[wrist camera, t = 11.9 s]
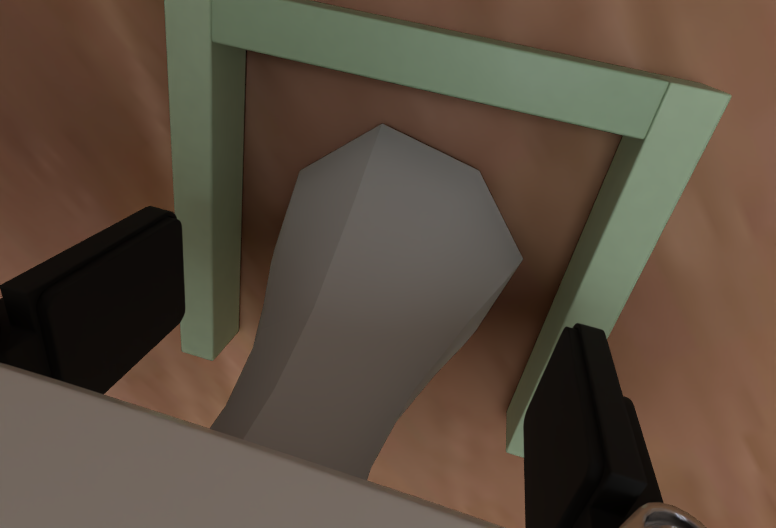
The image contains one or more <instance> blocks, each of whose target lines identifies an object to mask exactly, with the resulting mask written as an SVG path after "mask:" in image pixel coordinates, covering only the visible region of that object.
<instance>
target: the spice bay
mask: <svg viewBox="0 0 776 528" xmlns="http://www.w3.org/2000/svg"><path fill="white" fill-rule="evenodd" d="M164 8H165V28H166V48H167V68H168V88H169V109H170V129H171V149H172V169H173V189H174V209H175V215H176V217H177V219H178V220H179V221H180V222H181V224H182V238H183V261H184V285H185V314H184V317H183V319H182V321H181V322H180V330H181V350H182V352H185V353H188V354H191V355H195V356H198V357H201V358H204V359H207V360H211V361H213V360H214V359H215V358H216V357H217V356H218V355H219V353H220V352H221V351H222V350H223V349H224V348H225V346H226V345H227V344H228V343H229V342H230V341H231V339H232V338H233V337H234V336H235V335H236V334H237V332H238V331H239V295H240V257H241V219H242V180H243V142H244V104H245V66H246V50H250V51H254V52H258V53H263V54H267V55H272V56H276V57H280V58H285V59H289V60H294V61H298V62H302V63H307V64H311V65H316V66H320V67H324V68H329V69H333V70H338V71H342V72H346V73H351V74H355V75H359V76H364V77H368V78H373V79H377V80H381V81H386V82H390V83H395V84H399V85H403V86H408V87H412V88H417V89H421V90H425V91H430V92H434V93H439V94H443V95H447V96H452V97H456V98H461V99H465V100H469V101H474V102H478V103H483V104H487V105H491V106H496V107H500V108H504V109H509V110H513V111H518V112H522V113H526V114H531V115H535V116H540V117H544V118H548V119H553V120H557V121H562V122H566V123H570V124H575V125H579V126H584V127H588V128H592V129H597V130H601V131H606V132H610V133H614V134H619V135H623V137H622V139H621V141H620V144H619V146H618V149H617V151H616V153H615V156H614V158H613V160H612V163H611V165H610V168H609V170H608V172H607V175H606V177H605V179H604V182H603V184H602V187H601V189H600V191H599V194H598V196H597V198H596V201H595V203H594V206H593V208H592V210H591V213H590V215H589V217H588V220H587V222H586V225H585V227H584V229H583V232H582V234H581V236H580V239H579V241H578V244H577V246H576V248H575V251H574V253H573V255H572V258H571V260H570V263H569V265H568V267H567V270H566V272H565V274H564V277H563V279H562V282H561V284H560V286H559V289H558V291H557V293H556V296H555V298H554V301H553V303H552V305H551V308H550V310H549V312H548V315H547V317H546V320H545V322H544V324H543V327H542V329H541V331H540V334H539V336H538V339H537V341H536V343H535V346H534V348H533V350H532V353H531V355H530V358H529V360H528V362H527V365H526V367H525V369H524V372H523V374H522V377H521V379H520V381H519V384H518V386H517V388H516V391H515V393H514V396H513V398H512V400H511V403H510V405H509V407H508V410H507V421H506V452H507V453H510V454H513V455H517V456H520V457H523V458H524V436H523V424H524V418H525V414H526V411H527V409H528V406H529V404H530V402H531V400H532V397H533V395H534V393H535V391H536V389H537V386H538V384H539V382H540V380H541V377H542V375H543V373H544V371H545V369H546V366H547V364H548V362H549V360H550V357H551V355H552V353H553V351H554V349H555V346H556V344H557V342H558V340H559V337H560V335H561V333H562V331H563V329H564V328H565V327H566V326H567V327H570V328H573V326H574V325H575V324H576V323H580V324H584V325H587V326H591V327H595V328H598V329H602V330H604V332H605V335H606V338H608V336H609V334H610V333H611V331H612V329H613V327H614V325H615V323H616V321H617V319H618V317H619V315H620V313H621V311H622V309H623V307H624V305H625V303H626V301H627V299H628V297H629V296H630V294H631V292H632V290H633V288H634V286H635V284H636V282H637V280H638V278H639V276H640V274H641V272H642V270H643V268H644V266H645V264H646V262H647V261H648V259H649V257H650V255H651V253H652V251H653V249H654V247H655V245H656V243H657V241H658V239H659V237H660V235H661V233H662V231H663V229H664V227H665V225H666V224H667V222H668V220H669V218H670V216H671V214H672V212H673V210H674V208H675V206H676V204H677V202H678V200H679V198H680V196H681V194H682V192H683V190H684V188H685V187H686V185H687V183H688V181H689V179H690V177H691V175H692V173H693V171H694V169H695V167H696V165H697V163H698V161H699V159H700V157H701V155H702V153H703V151H704V150H705V148H706V146H707V144H708V142H709V140H710V138H711V136H712V134H713V132H714V130H715V128H716V126H717V124H718V122H719V120H720V118H721V116H722V114H723V113H724V111H725V109H726V107H727V105H728V103H729V101H730V99H731V95H730V94H728V93H725V92H723V91H720V90H718V89H715V88H712V87H710V86H707V85H705V84H702V83H698V82H693V81H689V80H684V79H679V78H674V77H670V76H665V75H660V74H656V73H649V72H646V71H641V70H637V69H632V68H627V67H622V66H618V65H613V64H608V63H603V62H599V61H594V60H589V59H585V58H580V57H575V56H570V55H566V54H561V53H556V52H551V51H547V50H542V49H537V48H533V47H528V46H523V45H518V44H514V43H509V42H504V41H499V40H495V39H490V38H485V37H481V36H476V35H471V34H466V33H462V32H457V31H452V30H447V29H443V28H438V27H433V26H429V25H424V24H419V23H414V22H410V21H405V20H400V19H395V18H391V17H386V16H381V15H377V14H372V13H367V12H362V11H358V10H353V9H348V8H343V7H339V6H334V5H329V4H325V3H320V2H315V1H310V0H164Z"/></svg>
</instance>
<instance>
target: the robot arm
mask: <svg viewBox="0 0 776 528" xmlns="http://www.w3.org/2000/svg"><path fill="white" fill-rule="evenodd" d="M0 289H1V293H2V296H3V298H1V299H0V528H504V527H502V526H499V525H496V524H493V523H490V522H487V521H485V520H482V519H479V518H476V517H473V516H470V515H467V514H465V513H462V512H459V511H456V510H453V509H450V508H447V507H444V506H442V505H439V504H436V503H433V502H430V501H427V500H424V499H421V498H418V497H415V496H412V495H409V494H406V493H403V492H400V491H397V490H394V489H391V488H388V487H385V486H382V485H379V484H376V483H373V482H370V481H367V480H364V479H361V478H358V477H355V476H352V475H349V474H346V473H343V472H340V471H337V470H334V469H331V468H328V467H325V466H322V465H319V464H316V463H313V462H310V461H307V460H304V459H301V458H298V457H295V456H292V455H289V454H286V453H283V452H280V451H277V450H273V449H270V448H267V447H264V446H261V445H258V444H255V443H252V442H249V441H246V440H243V439H240V438H237V437H234V436H231V435H228V434H225V433H221V432H218V431H215V430H212V429H209V428H206V427H203V426H200V425H197V424H194V423H191V422H188V421H185V420H181V419H178V418H175V417H172V416H169V415H166V414H163V413H160V412H157V411H154V410H150V409H147V408H144V407H141V406H138V405H135V404H132V403H129V402H125V401H122V400H119V399H116V398H113V397H110V396H107V395H104V394H105V393H106V392H107V391H108V390H109V389H110V388H111V387H112V386H113V385H114V384H115V383H116V382H117V381H118V380H119V379H121V378H122V377H123V376H124V375H125V374H126V373H127V372H128V371H129V370H130V369H131V368H132V367H133V366H134V365H135V364H137V363H138V362H139V361H140V360H141V359H142V358H143V357H144V356H145V355H146V354H147V353H148V352H149V351H150V350H151V349H153V348H154V347H155V346H156V345H157V344H158V343H159V342H160V341H161V340H162V339H163V338H164V337H165V336H166V335H168V334H169V333H170V332H171V331H172V330H173V329H174V328H175V327H176V326H177V325H178V324H179V323H180V322H181V321H182V319H183V317H184V314H185V285H184V261H183V238H182V224H181V222H180V221H179V220H178V219H177V217H176V215H175V214H174V213H173V212H171V211H167V210H163V209H160V208H156V207H152V206H148V207H145V208H144V209H142V210H140V211H138V212H136V213H134V214H132V215H130V216H129V217H127V218H125V219H123V220H121V221H119V222H117V223H116V224H114V225H112V226H110V227H108V228H106V229H104V230H102V231H101V232H99V233H97V234H95V235H93V236H91V237H89V238H88V239H86V240H84V241H82V242H80V243H78V244H76V245H74V246H73V247H71V248H69V249H67V250H65V251H63V252H61V253H60V254H58V255H56V256H54V257H52V258H50V259H48V260H46V261H45V262H43V263H41V264H39V265H37V266H35V267H33V268H32V269H30V270H28V271H26V272H24V273H22V274H20V275H18V276H17V277H15V278H13V279H11V280H9V281H7V282H5V283H4V284H2V285H0ZM523 436H524V479H525V521H526V528H706V527H705V526H704V525H703V524H702V523H701V522H700V521H698V520H697V519H696V518H694V517H693V516H691V515H690V514H689V513H687V512H685V511H683V510H681V509H679V508H677V507H675V506H673V505H669V504H665V503H663V500H662V496H661V493H660V490H659V487H658V483H657V480H656V477H655V473H654V470H653V467H652V464H651V460H650V457H649V454H648V450H647V447H646V444H645V441H644V437H643V434H642V431H641V427H640V424H639V421H638V418H637V414H636V411H635V408H634V405H633V403H632V401H631V400H630V399H629V398H627V397H624V396H623V395H622V391H621V388H620V384H619V380H618V377H617V373H616V370H615V366H614V363H613V359H612V356H611V352H610V349H609V345H608V342H607V338H606V335H605V332H604V330H602V329H598V328H595V327H591V326H587V325H584V324H580V323H576V324H575V325H574V326H573V328H570V327H567V326H566V327H565V328H564V329H563V331H562V333H561V335H560V337H559V340H558V342H557V344H556V346H555V349H554V351H553V353H552V355H551V357H550V360H549V362H548V364H547V366H546V369H545V371H544V373H543V375H542V377H541V380H540V382H539V384H538V386H537V389H536V391H535V393H534V395H533V397H532V400H531V402H530V404H529V406H528V409H527V411H526V414H525V418H524V424H523Z"/></svg>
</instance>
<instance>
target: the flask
mask: <svg viewBox="0 0 776 528" xmlns="http://www.w3.org/2000/svg"><path fill="white" fill-rule="evenodd" d="M522 260H523V258H522V256H521V254H520V252H519V250H518V248H517V246H516V244H515V242H514V240H513V238H512V236H511V234H510V232H509V230H508V228H507V226H506V224H505V222H504V220H503V218H502V216H501V214H500V212H499V210H498V208H497V206H496V204H495V202H494V200H493V198H492V196H491V194H490V192H489V190H488V188H487V186H486V184H485V182H484V180H483V178H482V176H481V173H480V171H479V170H477V169H475V168H473V167H470V166H468V165H466V164H464V163H462V162H460V161H458V160H456V159H454V158H452V157H450V156H448V155H446V154H444V153H442V152H440V151H438V150H436V149H433V148H431V147H429V146H427V145H425V144H423V143H421V142H419V141H417V140H415V139H413V138H411V137H409V136H407V135H405V134H403V133H401V132H399V131H396V130H394V129H392V128H390V127H388V126H386V125H384V124H381V125H379V126H377V127H375V128H374V129H372V130H370V131H368V132H367V133H365V134H363V135H361V136H360V137H358V138H356V139H354V140H353V141H351V142H349V143H347V144H346V145H344V146H342V147H340V148H339V149H337V150H335V151H333V152H332V153H330V154H328V155H326V156H325V157H323V158H321V159H319V160H318V161H316V162H314V163H312V164H311V165H309V166H307V167H305V168H304V169H302V170H300V172H299V175H298V178H297V181H296V184H295V187H294V190H293V193H292V197H291V200H290V203H289V206H288V209H287V212H286V215H285V218H284V221H283V224H282V227H281V230H280V234H279V237H278V240H277V243H276V246H275V249H274V253H273V257H272V261H271V266H270V272H269V277H268V283H267V288H266V294H265V300H264V305H263V309H262V313H261V317H260V321H259V325H258V329H257V333H256V337H255V341H254V345H253V349H252V351H251V353H250V355H249V357H248V359H247V362H246V364H245V366H244V368H243V370H242V372H241V374H240V377H239V379H238V381H237V383H236V385H235V387H234V389H233V391H232V394H231V396H230V398H229V400H228V402H227V404H226V406H225V407H224V409H223V410H222V412H221V413H220V415H219V416H218V417H217V419H216V420H215V422H214V423H213V424H212V426H211V427H210V429H212V430H215V431H218V432H221V433H225V434H228V435H231V436H234V437H237V438H240V439H243V440H246V441H249V442H252V443H255V444H258V445H261V446H264V447H267V448H270V449H273V450H277V451H280V452H283V453H286V454H289V455H292V456H295V457H298V458H301V459H304V460H307V461H310V462H313V463H316V464H319V465H322V466H325V467H328V468H331V469H334V470H337V471H340V472H343V473H346V474H349V475H352V476H355V477H358V478H361V479H364V480H367V479H368V476H369V473H370V470H371V467H372V465H373V463H374V461H375V459H376V458H377V456H378V454H379V452H380V450H381V448H382V447H383V445H384V443H385V441H386V439H387V437H388V436H389V434H390V432H391V430H392V428H393V427H394V425H395V423H396V421H397V420H398V419H399V418H400V416H401V415H402V414H403V413H404V412H405V410H406V409H407V408H408V407H409V406H410V404H411V403H412V402H413V401H414V400H415V398H416V397H417V396H418V395H419V394H420V392H421V391H422V390H423V389H424V388H425V386H426V385H427V384H428V383H429V382H430V380H431V379H432V378H433V377H434V376H435V374H436V373H437V372H438V371H439V370H440V369H441V368H442V367H443V366H444V365H445V364H446V363H447V362H448V361H449V360H450V359H451V358H452V356H453V355H454V354H455V353H456V352H457V351H458V350H459V349H460V348H461V347H462V346H463V345H464V344H465V343H466V342H467V340H468V339H469V338H470V337H471V336H472V334H473V333H474V332H475V331H476V329H477V328H478V326H479V325H480V323H481V322H482V320H483V319H484V317H485V316H486V314H487V313H488V311H489V310H490V308H491V307H492V305H493V304H494V302H495V301H496V299H497V298H498V296H499V295H500V293H501V292H502V290H503V289H504V287H505V286H506V284H507V283H508V281H509V280H510V278H511V277H512V275H513V274H514V272H515V271H516V269H517V268H518V266H519V265H520V263H521V262H522Z"/></svg>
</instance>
